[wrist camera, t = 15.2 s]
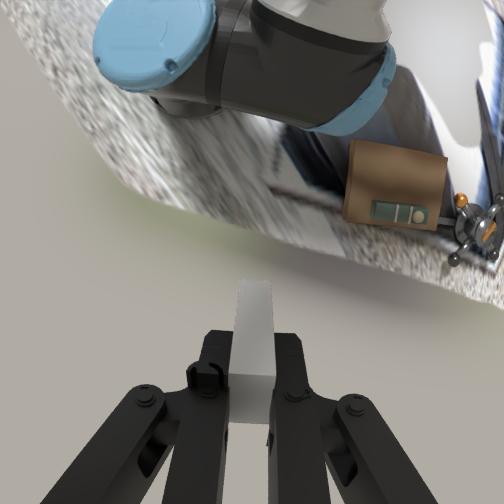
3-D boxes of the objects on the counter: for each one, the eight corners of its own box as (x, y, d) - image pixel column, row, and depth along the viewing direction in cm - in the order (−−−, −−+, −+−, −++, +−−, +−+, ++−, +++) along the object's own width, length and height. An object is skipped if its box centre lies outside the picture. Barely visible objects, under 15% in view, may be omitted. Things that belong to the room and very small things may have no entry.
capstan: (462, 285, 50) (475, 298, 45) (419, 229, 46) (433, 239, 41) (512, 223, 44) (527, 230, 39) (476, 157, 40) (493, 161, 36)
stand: (347, 138, 42) (363, 140, 35) (434, 154, 42) (459, 160, 35) (339, 214, 47) (353, 229, 39) (423, 222, 46) (446, 237, 39)
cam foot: (417, 193, 45) (423, 195, 43) (486, 205, 45) (492, 208, 43) (409, 238, 48) (414, 242, 46) (477, 244, 48) (483, 248, 46)
